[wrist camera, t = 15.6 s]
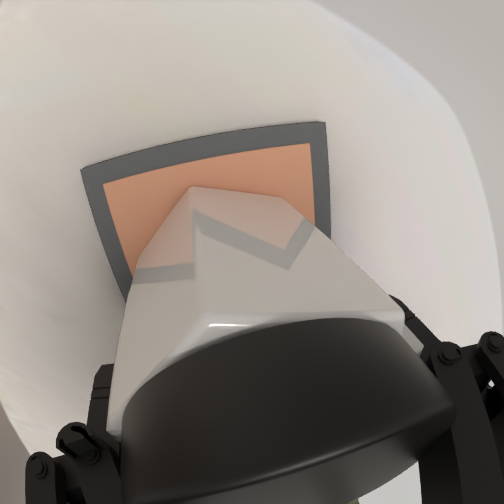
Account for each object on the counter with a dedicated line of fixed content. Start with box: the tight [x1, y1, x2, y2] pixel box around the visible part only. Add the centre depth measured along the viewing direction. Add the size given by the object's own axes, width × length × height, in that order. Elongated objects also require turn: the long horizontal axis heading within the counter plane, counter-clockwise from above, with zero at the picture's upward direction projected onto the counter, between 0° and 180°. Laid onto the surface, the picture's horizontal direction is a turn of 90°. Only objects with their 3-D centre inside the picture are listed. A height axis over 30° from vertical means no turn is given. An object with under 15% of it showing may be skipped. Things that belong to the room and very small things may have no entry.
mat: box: [80, 122, 331, 302], centre depth 15 cm, size 12×13×1 cm
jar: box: [108, 186, 458, 504], centre depth 10 cm, size 9×8×12 cm
